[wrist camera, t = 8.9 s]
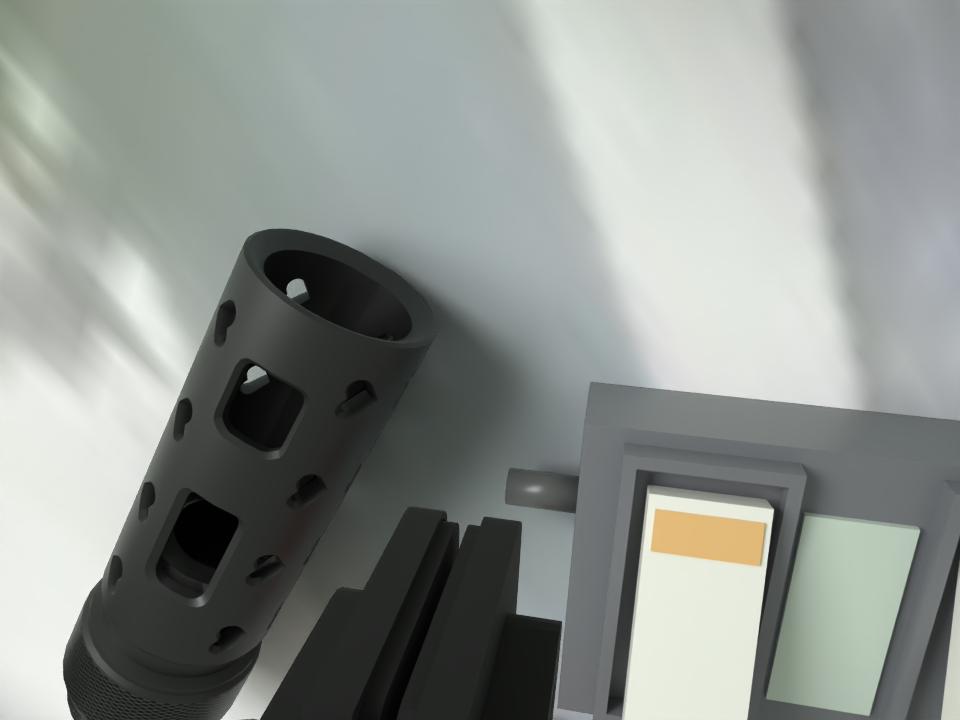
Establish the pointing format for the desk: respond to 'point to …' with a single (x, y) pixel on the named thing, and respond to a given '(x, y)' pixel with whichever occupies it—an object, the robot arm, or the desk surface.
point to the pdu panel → (772, 545)
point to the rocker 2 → (953, 665)
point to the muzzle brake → (245, 477)
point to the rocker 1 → (697, 605)
